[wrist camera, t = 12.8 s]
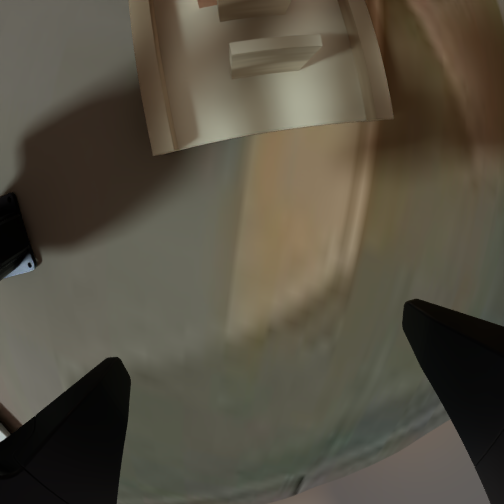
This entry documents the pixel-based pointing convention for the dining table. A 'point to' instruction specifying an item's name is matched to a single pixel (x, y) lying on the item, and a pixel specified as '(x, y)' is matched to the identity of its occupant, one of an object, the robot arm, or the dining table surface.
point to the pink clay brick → (206, 3)
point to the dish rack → (254, 68)
